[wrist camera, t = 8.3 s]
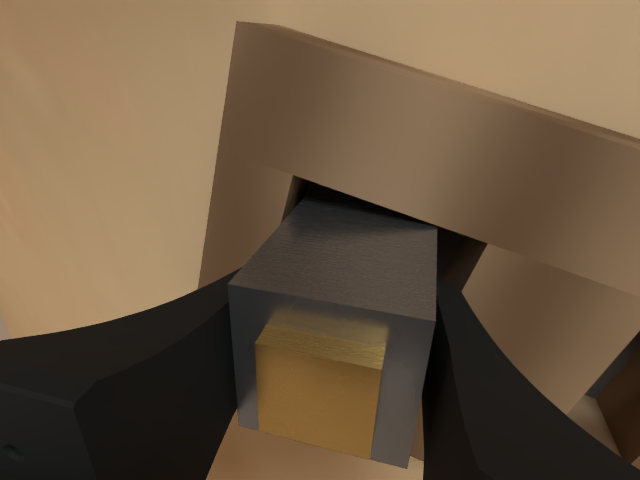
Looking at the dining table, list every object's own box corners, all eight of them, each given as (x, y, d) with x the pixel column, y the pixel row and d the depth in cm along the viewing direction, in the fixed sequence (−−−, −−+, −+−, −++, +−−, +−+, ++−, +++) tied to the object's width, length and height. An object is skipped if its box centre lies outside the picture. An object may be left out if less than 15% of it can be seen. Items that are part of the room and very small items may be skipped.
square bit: (437, 194, 13) (435, 342, 7) (420, 296, 15) (405, 495, 8) (319, 180, 14) (212, 300, 8) (315, 279, 16) (227, 446, 9)
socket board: (869, 211, 11) (1007, 266, 8) (602, 467, 17) (633, 547, 14) (277, 25, 12) (236, 21, 10) (222, 317, 18) (187, 364, 16)
